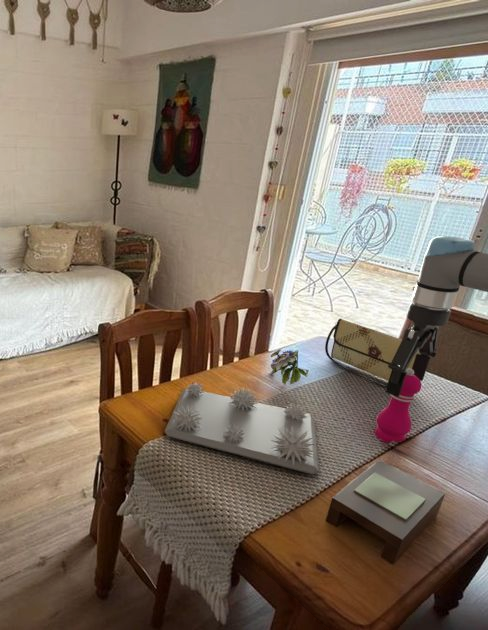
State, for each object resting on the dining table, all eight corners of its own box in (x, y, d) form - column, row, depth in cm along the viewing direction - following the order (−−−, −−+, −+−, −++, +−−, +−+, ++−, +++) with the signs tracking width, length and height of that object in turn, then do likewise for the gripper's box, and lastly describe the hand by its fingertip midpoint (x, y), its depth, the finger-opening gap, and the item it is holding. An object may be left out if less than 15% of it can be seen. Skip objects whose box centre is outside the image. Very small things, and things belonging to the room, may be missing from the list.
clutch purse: (317, 359, 155) (326, 319, 150) (329, 355, 158) (339, 316, 153) (409, 399, 130) (424, 353, 125) (422, 393, 133) (437, 349, 128)
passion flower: (270, 388, 147) (268, 352, 150) (307, 388, 143) (304, 352, 146) (271, 383, 137) (269, 346, 140) (311, 384, 133) (307, 345, 136)
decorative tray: (312, 422, 119) (320, 390, 116) (317, 484, 97) (326, 447, 94) (183, 393, 133) (186, 364, 130) (162, 441, 112) (165, 408, 108)
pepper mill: (369, 438, 113) (390, 369, 106) (375, 425, 118) (395, 359, 111) (403, 450, 108) (427, 379, 101) (408, 437, 113) (431, 368, 106)
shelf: (436, 516, 89) (446, 492, 87) (393, 564, 79) (402, 539, 76) (372, 481, 98) (379, 458, 96) (325, 520, 88) (332, 496, 86)
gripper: (432, 291, 110) (408, 366, 117) (387, 310, 97) (363, 394, 104) (470, 299, 104) (442, 378, 111) (428, 321, 91) (399, 408, 99)
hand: (404, 386), depth 108 cm, fingers open, 13 cm apart
